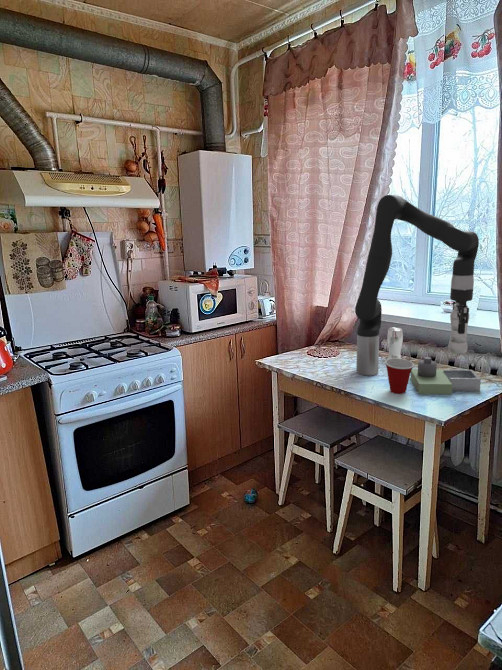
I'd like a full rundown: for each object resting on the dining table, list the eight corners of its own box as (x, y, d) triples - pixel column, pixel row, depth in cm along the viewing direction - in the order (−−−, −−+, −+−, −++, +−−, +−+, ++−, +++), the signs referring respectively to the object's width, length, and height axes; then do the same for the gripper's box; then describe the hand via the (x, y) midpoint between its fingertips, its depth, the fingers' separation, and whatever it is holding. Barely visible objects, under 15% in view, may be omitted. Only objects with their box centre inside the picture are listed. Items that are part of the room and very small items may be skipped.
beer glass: (403, 358, 219) (404, 328, 216) (399, 362, 214) (400, 331, 210) (389, 356, 223) (389, 326, 219) (384, 360, 217) (385, 330, 214)
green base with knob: (418, 393, 176) (419, 366, 173) (410, 378, 193) (411, 352, 190) (451, 394, 174) (453, 366, 171) (440, 378, 191) (441, 352, 188)
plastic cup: (403, 398, 172) (404, 368, 169) (378, 391, 180) (379, 362, 177) (418, 391, 179) (419, 361, 176) (393, 384, 187) (394, 356, 184)
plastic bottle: (468, 356, 171) (473, 303, 166) (449, 355, 172) (452, 303, 167) (465, 351, 177) (469, 300, 172) (446, 350, 178) (449, 300, 173)
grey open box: (449, 390, 177) (450, 378, 176) (442, 381, 188) (443, 369, 186) (479, 391, 175) (480, 378, 174) (471, 381, 186) (472, 369, 185)
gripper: (446, 284, 176) (444, 327, 180) (455, 290, 162) (452, 336, 166) (467, 284, 174) (464, 327, 178) (478, 290, 161) (474, 336, 165)
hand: (458, 331), depth 172 cm, fingers closed on plastic bottle, 6 cm apart
